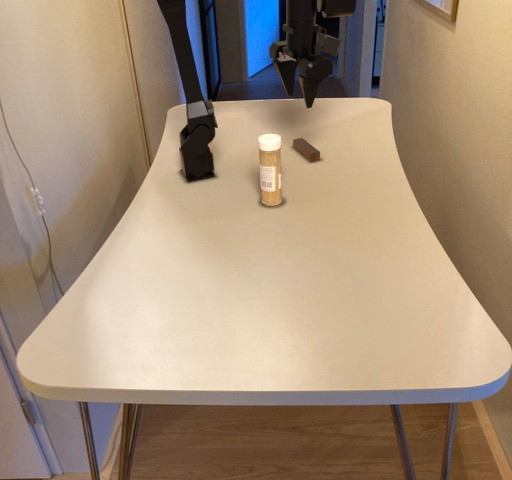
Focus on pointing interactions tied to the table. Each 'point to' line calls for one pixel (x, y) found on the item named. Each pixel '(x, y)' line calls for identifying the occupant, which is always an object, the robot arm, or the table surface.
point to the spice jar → (270, 169)
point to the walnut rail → (306, 149)
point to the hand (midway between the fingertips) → (299, 101)
